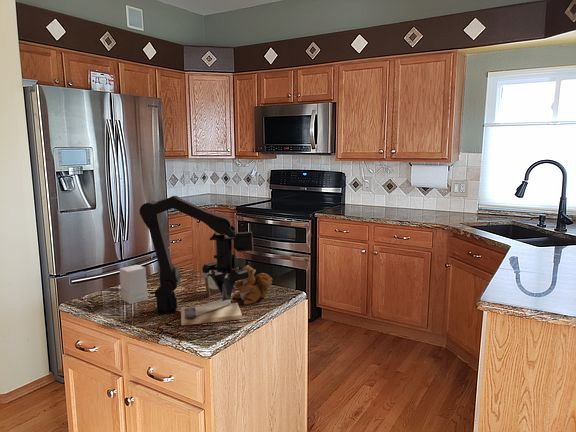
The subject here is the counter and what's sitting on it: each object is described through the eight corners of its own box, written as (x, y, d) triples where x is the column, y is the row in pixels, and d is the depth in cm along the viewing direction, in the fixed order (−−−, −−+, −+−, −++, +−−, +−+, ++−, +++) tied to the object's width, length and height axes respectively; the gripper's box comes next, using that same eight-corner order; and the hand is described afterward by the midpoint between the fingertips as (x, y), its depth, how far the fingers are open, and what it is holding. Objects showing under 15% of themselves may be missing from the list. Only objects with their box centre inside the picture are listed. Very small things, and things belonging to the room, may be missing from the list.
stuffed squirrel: (231, 297, 172) (230, 264, 170) (265, 292, 178) (264, 260, 176) (240, 306, 163) (239, 271, 161) (275, 299, 169) (274, 266, 167)
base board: (181, 325, 146) (181, 320, 146) (180, 312, 158) (180, 307, 157) (242, 319, 151) (242, 314, 151) (237, 306, 162) (237, 302, 162)
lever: (188, 320, 146) (187, 296, 145) (182, 317, 148) (181, 293, 147) (233, 304, 160) (232, 282, 158) (226, 302, 162) (226, 280, 161)
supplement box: (148, 299, 171) (146, 267, 169) (129, 304, 166) (127, 271, 164) (139, 295, 176) (137, 264, 174) (121, 299, 171) (118, 268, 169)
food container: (220, 287, 185) (219, 263, 183) (230, 290, 181) (229, 266, 179) (196, 295, 175) (195, 270, 174) (206, 298, 171) (205, 273, 170)
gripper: (259, 251, 157) (260, 293, 159) (224, 244, 169) (225, 284, 171) (235, 257, 148) (237, 302, 151) (200, 249, 161) (202, 291, 163)
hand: (225, 294), depth 159 cm, fingers open, 3 cm apart
